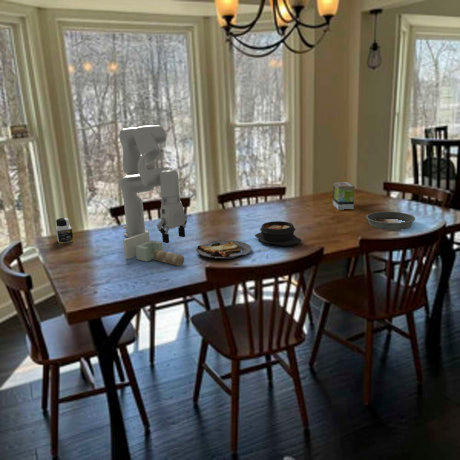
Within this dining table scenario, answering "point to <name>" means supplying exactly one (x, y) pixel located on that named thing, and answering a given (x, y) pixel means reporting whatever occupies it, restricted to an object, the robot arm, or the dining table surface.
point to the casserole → (278, 233)
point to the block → (148, 250)
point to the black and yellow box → (64, 231)
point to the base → (134, 244)
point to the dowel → (168, 257)
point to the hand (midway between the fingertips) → (174, 239)
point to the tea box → (343, 195)
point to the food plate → (223, 249)
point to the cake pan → (390, 215)
